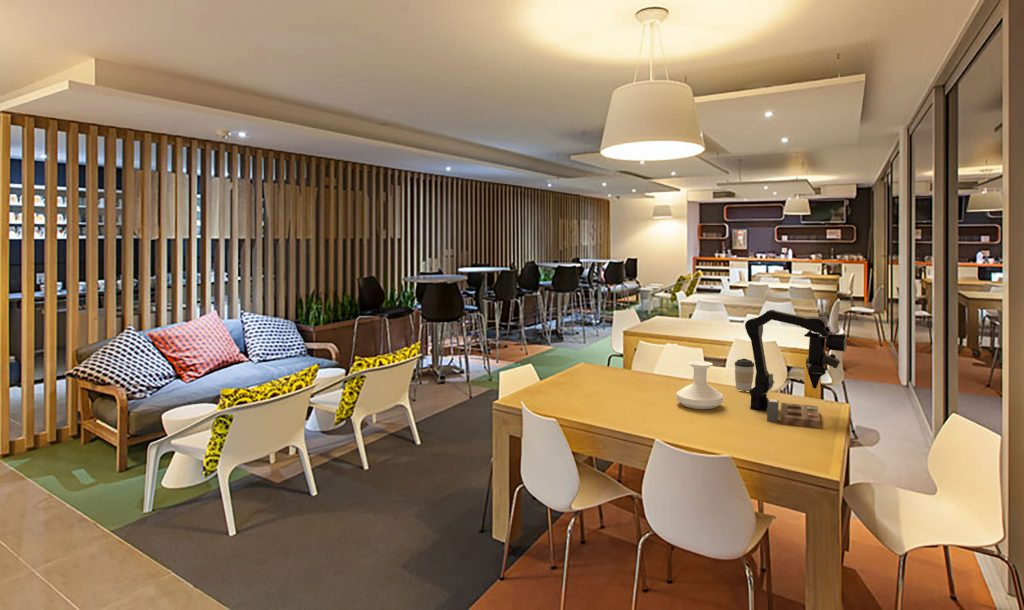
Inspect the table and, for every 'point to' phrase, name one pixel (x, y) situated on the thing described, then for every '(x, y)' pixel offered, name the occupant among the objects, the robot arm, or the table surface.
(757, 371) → the robot arm
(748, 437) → the table surface
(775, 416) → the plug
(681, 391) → the candle holder
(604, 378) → the table surface
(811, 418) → the socket board
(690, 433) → the table surface
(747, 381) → the coffee cup
